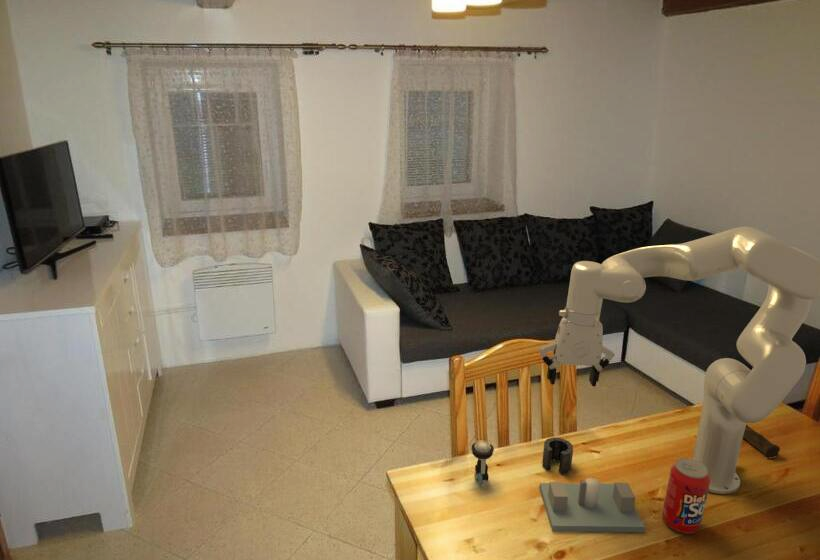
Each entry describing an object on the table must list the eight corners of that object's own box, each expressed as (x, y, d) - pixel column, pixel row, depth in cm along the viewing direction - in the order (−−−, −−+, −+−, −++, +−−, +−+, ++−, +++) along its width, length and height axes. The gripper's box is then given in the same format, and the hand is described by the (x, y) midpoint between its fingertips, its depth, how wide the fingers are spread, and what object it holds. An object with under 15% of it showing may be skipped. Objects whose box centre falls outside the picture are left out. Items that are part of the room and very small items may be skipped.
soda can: (664, 506, 135) (674, 451, 130) (701, 518, 131) (713, 463, 126) (658, 527, 129) (669, 471, 124) (698, 541, 125) (710, 483, 120)
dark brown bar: (778, 458, 153) (782, 443, 151) (765, 460, 152) (769, 445, 150) (728, 419, 170) (731, 405, 169) (715, 420, 169) (718, 406, 168)
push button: (495, 488, 140) (498, 453, 137) (474, 490, 140) (475, 455, 137) (488, 471, 147) (490, 437, 143) (467, 472, 146) (469, 438, 143)
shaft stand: (622, 489, 141) (626, 463, 138) (643, 532, 127) (648, 504, 125) (539, 488, 141) (541, 462, 138) (552, 531, 128) (555, 503, 125)
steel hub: (545, 454, 153) (547, 434, 151) (573, 461, 150) (575, 441, 148) (539, 468, 148) (541, 448, 146) (568, 477, 145) (570, 456, 143)
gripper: (547, 320, 129) (538, 389, 134) (625, 324, 129) (613, 392, 134) (540, 307, 136) (532, 373, 141) (615, 311, 136) (603, 376, 141)
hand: (571, 382), depth 138 cm, fingers open, 9 cm apart
